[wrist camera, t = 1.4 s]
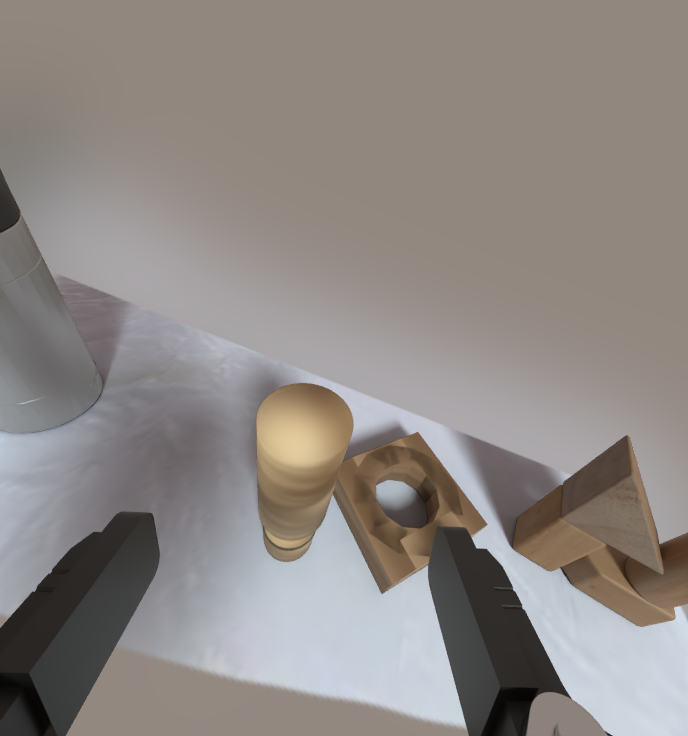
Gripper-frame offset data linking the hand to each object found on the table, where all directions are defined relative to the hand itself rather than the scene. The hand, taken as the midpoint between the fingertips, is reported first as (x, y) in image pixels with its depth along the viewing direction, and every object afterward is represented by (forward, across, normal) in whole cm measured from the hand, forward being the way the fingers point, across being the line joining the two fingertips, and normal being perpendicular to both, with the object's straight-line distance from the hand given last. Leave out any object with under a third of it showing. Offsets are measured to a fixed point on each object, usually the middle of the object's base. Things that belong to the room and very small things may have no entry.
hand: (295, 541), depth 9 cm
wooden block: (+14, -23, +18) cm, 32 cm away
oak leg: (+14, +2, +15) cm, 20 cm away
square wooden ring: (+17, -8, +15) cm, 23 cm away
